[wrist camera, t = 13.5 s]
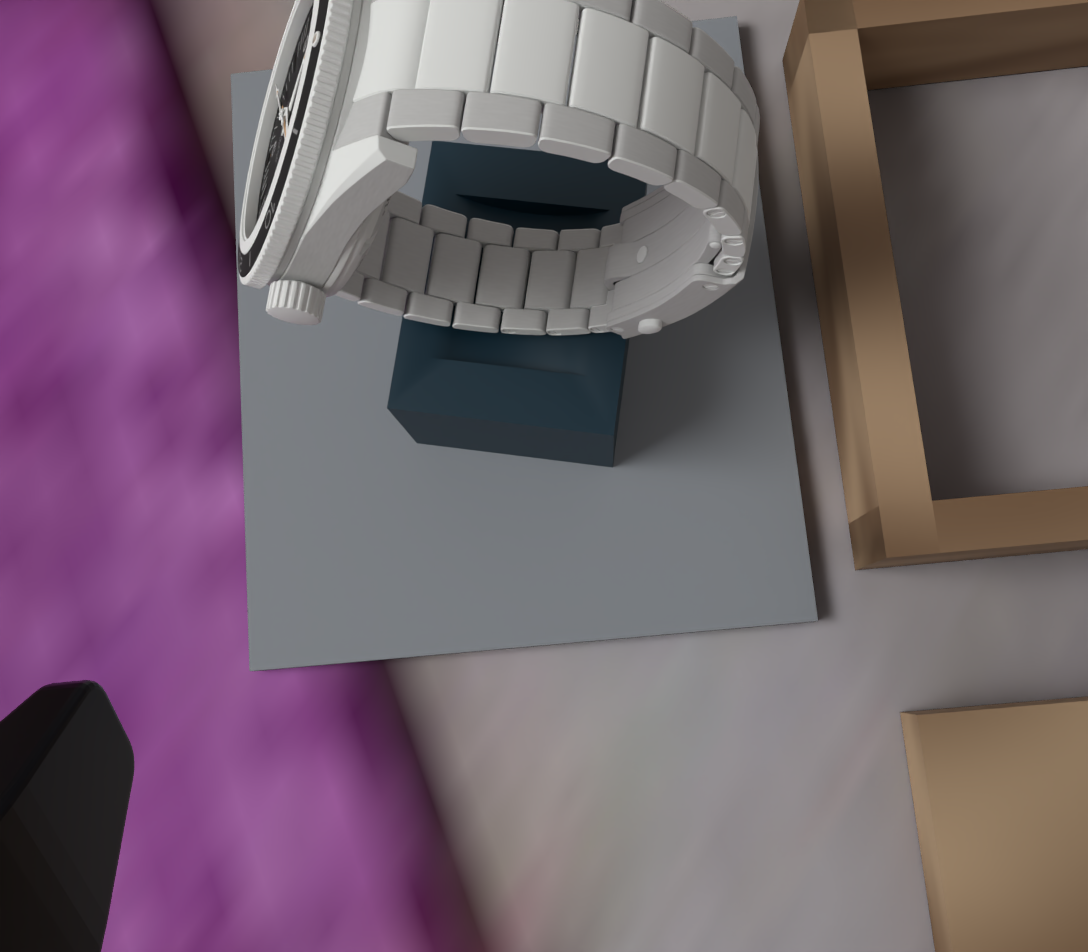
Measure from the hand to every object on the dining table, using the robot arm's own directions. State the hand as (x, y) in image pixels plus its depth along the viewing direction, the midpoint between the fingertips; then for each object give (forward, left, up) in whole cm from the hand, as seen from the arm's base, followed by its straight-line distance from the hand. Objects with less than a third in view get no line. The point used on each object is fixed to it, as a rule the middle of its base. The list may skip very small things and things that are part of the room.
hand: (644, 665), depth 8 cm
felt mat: (+8, +2, -14) cm, 16 cm away
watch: (+7, +1, -13) cm, 15 cm away
